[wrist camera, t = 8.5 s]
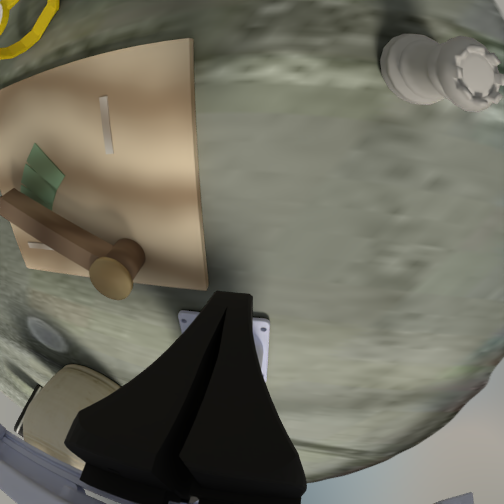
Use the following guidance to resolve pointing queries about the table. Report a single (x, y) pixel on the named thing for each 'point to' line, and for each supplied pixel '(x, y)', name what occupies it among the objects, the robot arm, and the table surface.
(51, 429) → the jug
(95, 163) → the tan wooden board
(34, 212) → the peg lever
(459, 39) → the rook chess piece
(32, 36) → the watch
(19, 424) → the battery charger
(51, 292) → the table surface
